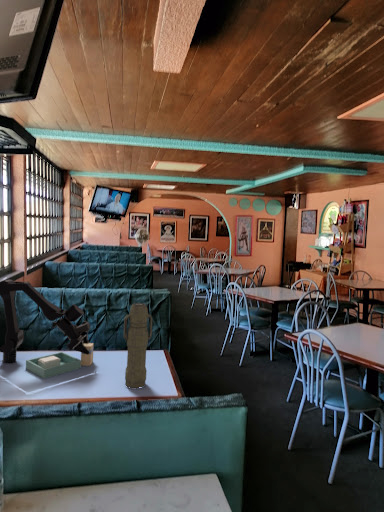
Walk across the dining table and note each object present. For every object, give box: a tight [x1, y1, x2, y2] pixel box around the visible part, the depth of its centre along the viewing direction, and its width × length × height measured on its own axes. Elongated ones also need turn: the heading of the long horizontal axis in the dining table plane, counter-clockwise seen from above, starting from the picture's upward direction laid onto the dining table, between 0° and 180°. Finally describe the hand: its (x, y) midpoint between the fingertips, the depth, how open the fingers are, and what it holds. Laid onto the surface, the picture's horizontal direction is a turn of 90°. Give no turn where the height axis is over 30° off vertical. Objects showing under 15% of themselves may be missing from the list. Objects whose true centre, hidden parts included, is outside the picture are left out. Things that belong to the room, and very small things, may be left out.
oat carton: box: [80, 342, 94, 367], centre depth 174 cm, size 4×6×10 cm
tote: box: [25, 351, 82, 379], centre depth 166 cm, size 16×18×4 cm
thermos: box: [123, 302, 153, 389], centre depth 153 cm, size 9×12×35 cm
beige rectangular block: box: [38, 356, 60, 369], centre depth 168 cm, size 6×8×3 cm
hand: (90, 351), depth 174 cm, fingers open, 6 cm apart
